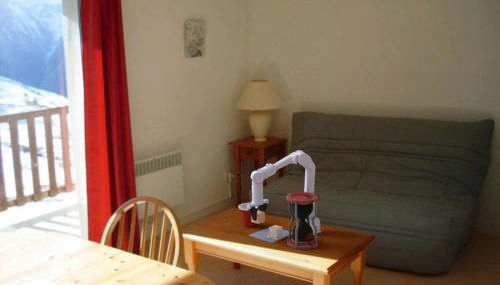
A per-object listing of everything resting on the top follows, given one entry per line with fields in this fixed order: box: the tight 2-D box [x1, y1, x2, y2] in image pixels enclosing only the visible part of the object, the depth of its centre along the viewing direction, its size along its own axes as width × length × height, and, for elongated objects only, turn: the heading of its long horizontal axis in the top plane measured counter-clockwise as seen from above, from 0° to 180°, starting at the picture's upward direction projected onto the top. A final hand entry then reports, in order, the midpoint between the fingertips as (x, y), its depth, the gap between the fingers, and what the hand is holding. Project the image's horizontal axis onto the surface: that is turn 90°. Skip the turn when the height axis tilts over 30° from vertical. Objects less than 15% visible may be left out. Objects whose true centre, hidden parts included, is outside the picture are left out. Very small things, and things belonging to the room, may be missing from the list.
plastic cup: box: [238, 202, 259, 228], centre depth 309 cm, size 11×11×12 cm
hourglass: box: [285, 191, 320, 250], centre depth 279 cm, size 16×16×25 cm
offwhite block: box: [268, 224, 284, 239], centre depth 291 cm, size 5×5×5 cm
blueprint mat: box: [247, 227, 292, 243], centre depth 295 cm, size 17×19×1 cm
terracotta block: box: [251, 210, 266, 225], centre depth 292 cm, size 5×5×5 cm
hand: (258, 219), depth 292 cm, fingers closed on terracotta block, 5 cm apart
